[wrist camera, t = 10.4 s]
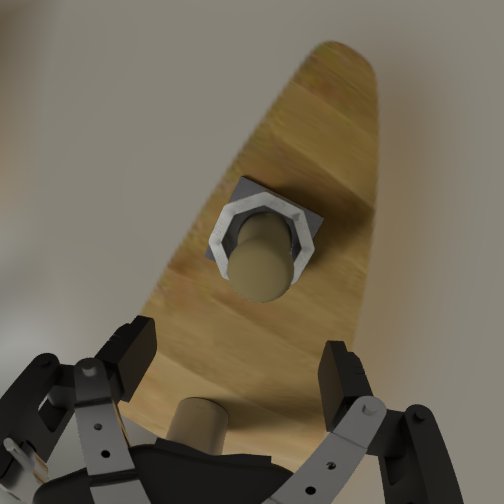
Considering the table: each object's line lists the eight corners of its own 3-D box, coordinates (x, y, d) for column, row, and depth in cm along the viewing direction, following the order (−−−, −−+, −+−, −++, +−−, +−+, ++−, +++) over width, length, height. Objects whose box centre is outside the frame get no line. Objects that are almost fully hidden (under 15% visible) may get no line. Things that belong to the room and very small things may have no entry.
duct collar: (281, 291, 32) (282, 305, 29) (205, 254, 32) (197, 265, 28) (323, 217, 29) (329, 224, 26) (241, 176, 29) (237, 177, 25)
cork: (233, 214, 29) (211, 242, 19) (289, 208, 29) (298, 233, 18) (241, 266, 31) (225, 317, 21) (294, 261, 31) (304, 311, 20)
